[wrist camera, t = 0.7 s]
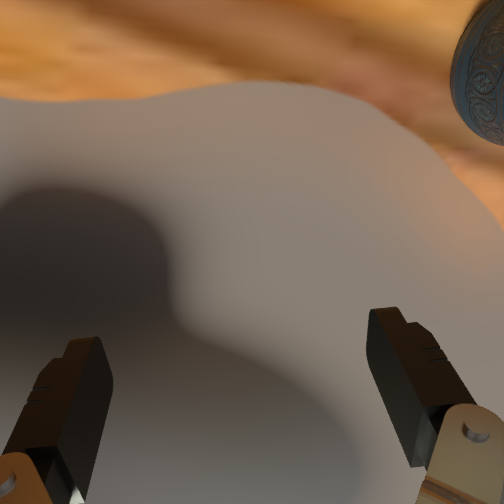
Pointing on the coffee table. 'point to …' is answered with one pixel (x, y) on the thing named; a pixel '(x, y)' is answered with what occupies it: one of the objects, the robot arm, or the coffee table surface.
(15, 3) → the coffee table surface
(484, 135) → the canister
